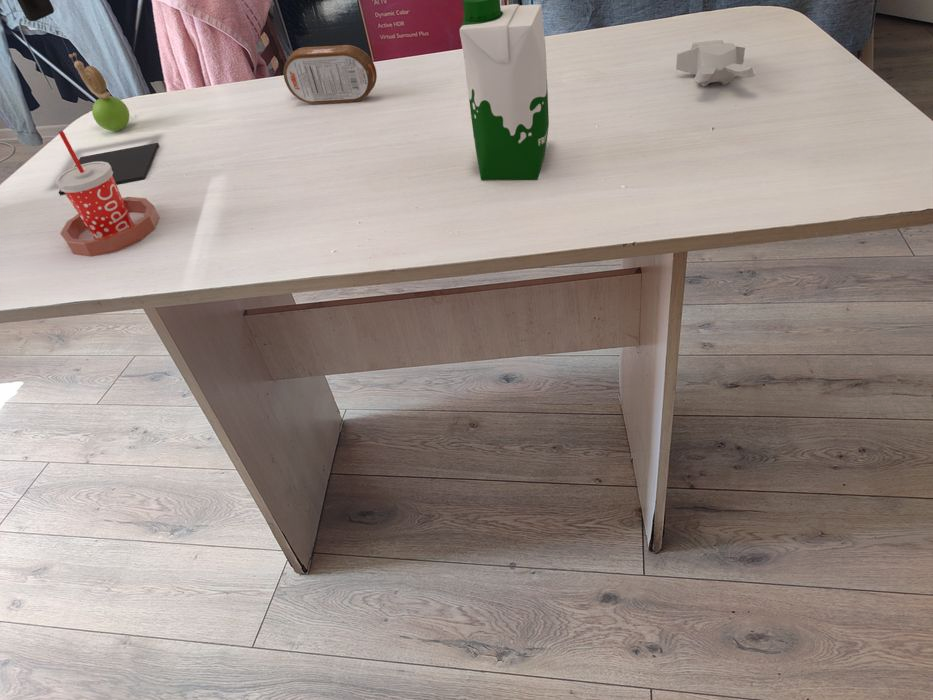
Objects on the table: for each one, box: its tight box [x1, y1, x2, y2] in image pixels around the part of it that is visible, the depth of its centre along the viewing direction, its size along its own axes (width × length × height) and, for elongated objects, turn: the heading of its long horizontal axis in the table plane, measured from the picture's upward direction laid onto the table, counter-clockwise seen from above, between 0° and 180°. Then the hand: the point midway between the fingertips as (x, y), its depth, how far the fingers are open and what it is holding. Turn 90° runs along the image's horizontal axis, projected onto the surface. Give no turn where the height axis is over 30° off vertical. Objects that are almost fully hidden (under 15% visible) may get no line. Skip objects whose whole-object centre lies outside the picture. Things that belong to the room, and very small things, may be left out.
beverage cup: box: [55, 130, 134, 239], centre depth 79 cm, size 6×6×14 cm
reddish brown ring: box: [59, 196, 160, 258], centre depth 83 cm, size 11×11×3 cm
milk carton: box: [458, 0, 550, 181], centre depth 79 cm, size 9×9×20 cm
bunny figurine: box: [675, 39, 755, 87], centre depth 97 cm, size 10×5×15 cm
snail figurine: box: [68, 52, 130, 132], centre depth 109 cm, size 5×6×12 cm
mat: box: [58, 142, 160, 196], centre depth 100 cm, size 12×12×1 cm
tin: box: [282, 44, 378, 105], centre depth 108 cm, size 15×3×8 cm, turn 80°
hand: (1, 20), depth 67 cm, fingers open, 9 cm apart
